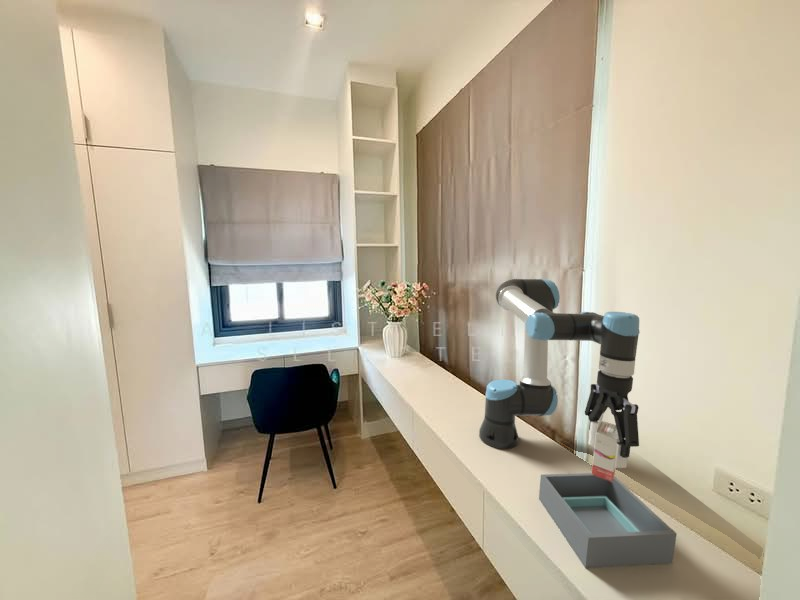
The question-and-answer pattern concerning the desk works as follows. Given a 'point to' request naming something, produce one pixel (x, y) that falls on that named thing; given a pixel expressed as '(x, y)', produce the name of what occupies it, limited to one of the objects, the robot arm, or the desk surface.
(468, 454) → the desk surface
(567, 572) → the desk surface
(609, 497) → the grey square tray
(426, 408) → the desk surface
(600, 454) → the ink cartridge box
